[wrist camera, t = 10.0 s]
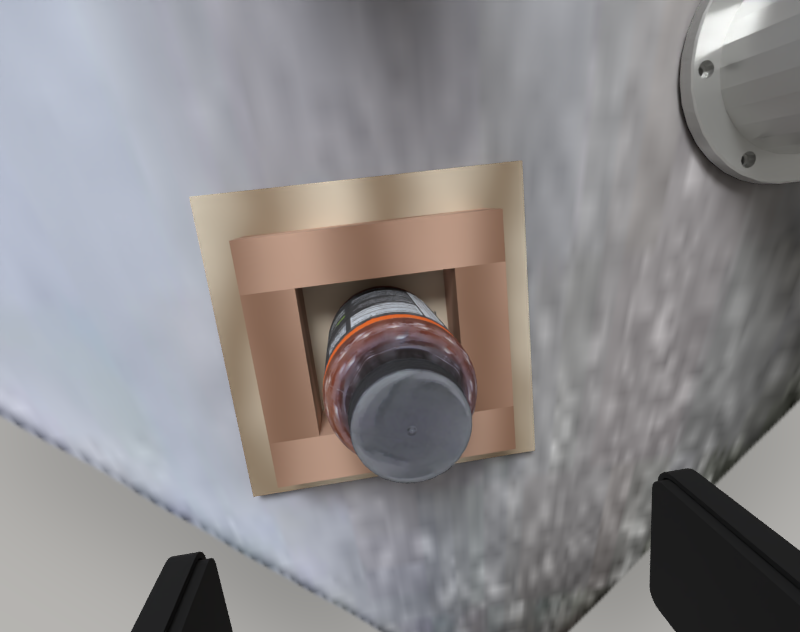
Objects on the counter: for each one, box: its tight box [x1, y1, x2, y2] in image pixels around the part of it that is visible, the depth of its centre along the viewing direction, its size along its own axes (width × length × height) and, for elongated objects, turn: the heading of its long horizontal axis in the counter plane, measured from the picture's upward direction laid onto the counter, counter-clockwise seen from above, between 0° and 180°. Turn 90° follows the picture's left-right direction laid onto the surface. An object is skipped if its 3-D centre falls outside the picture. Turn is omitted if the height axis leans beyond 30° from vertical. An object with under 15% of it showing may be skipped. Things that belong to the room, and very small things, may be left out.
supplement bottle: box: [323, 286, 477, 483], centre depth 20 cm, size 6×6×11 cm
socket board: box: [189, 161, 535, 497], centre depth 25 cm, size 17×17×4 cm
